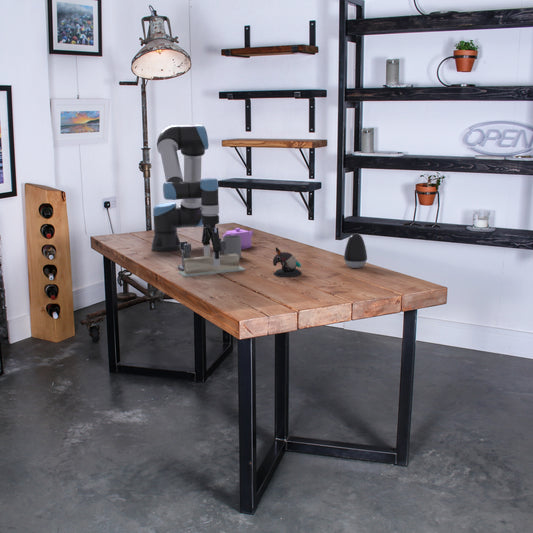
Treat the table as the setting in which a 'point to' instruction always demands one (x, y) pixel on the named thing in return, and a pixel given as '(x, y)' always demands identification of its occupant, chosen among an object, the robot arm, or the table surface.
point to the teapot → (244, 237)
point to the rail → (210, 263)
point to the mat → (210, 272)
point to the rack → (187, 250)
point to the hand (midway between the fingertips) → (211, 262)
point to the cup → (233, 244)
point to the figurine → (286, 264)
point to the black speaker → (355, 252)
